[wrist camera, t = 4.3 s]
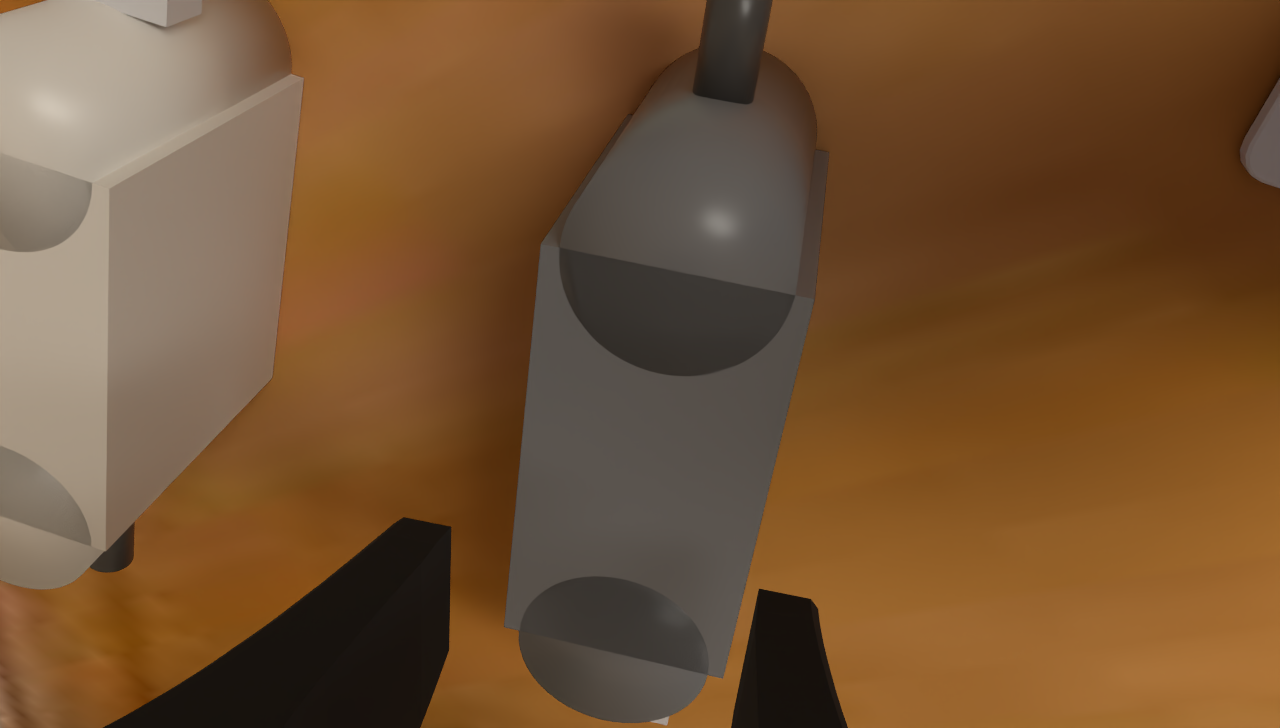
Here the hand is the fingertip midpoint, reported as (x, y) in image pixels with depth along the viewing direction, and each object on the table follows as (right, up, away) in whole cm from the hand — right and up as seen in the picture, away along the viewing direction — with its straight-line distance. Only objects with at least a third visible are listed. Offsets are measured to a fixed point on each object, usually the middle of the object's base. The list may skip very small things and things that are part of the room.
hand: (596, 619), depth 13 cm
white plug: (-8, +6, +9) cm, 13 cm away
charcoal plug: (+2, +4, +8) cm, 9 cm away
